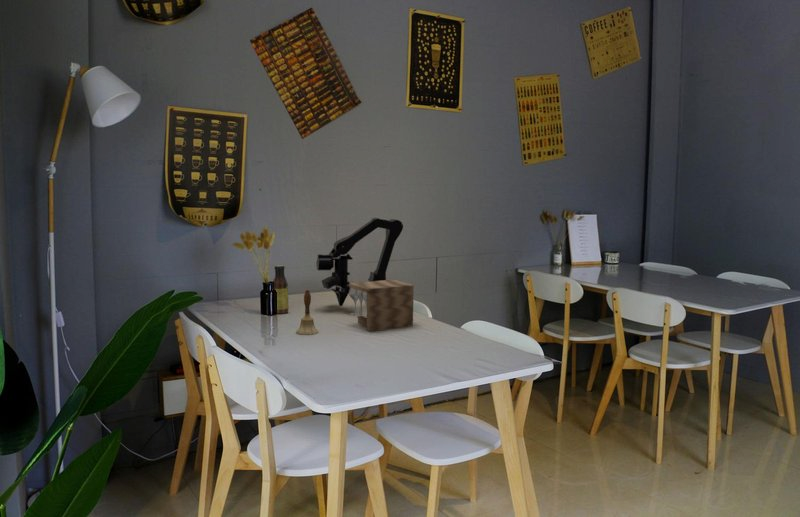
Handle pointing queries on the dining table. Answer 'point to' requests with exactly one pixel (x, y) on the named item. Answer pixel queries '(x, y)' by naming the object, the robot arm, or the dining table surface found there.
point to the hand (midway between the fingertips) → (340, 305)
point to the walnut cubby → (386, 304)
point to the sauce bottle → (281, 289)
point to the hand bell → (307, 318)
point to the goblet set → (355, 296)
